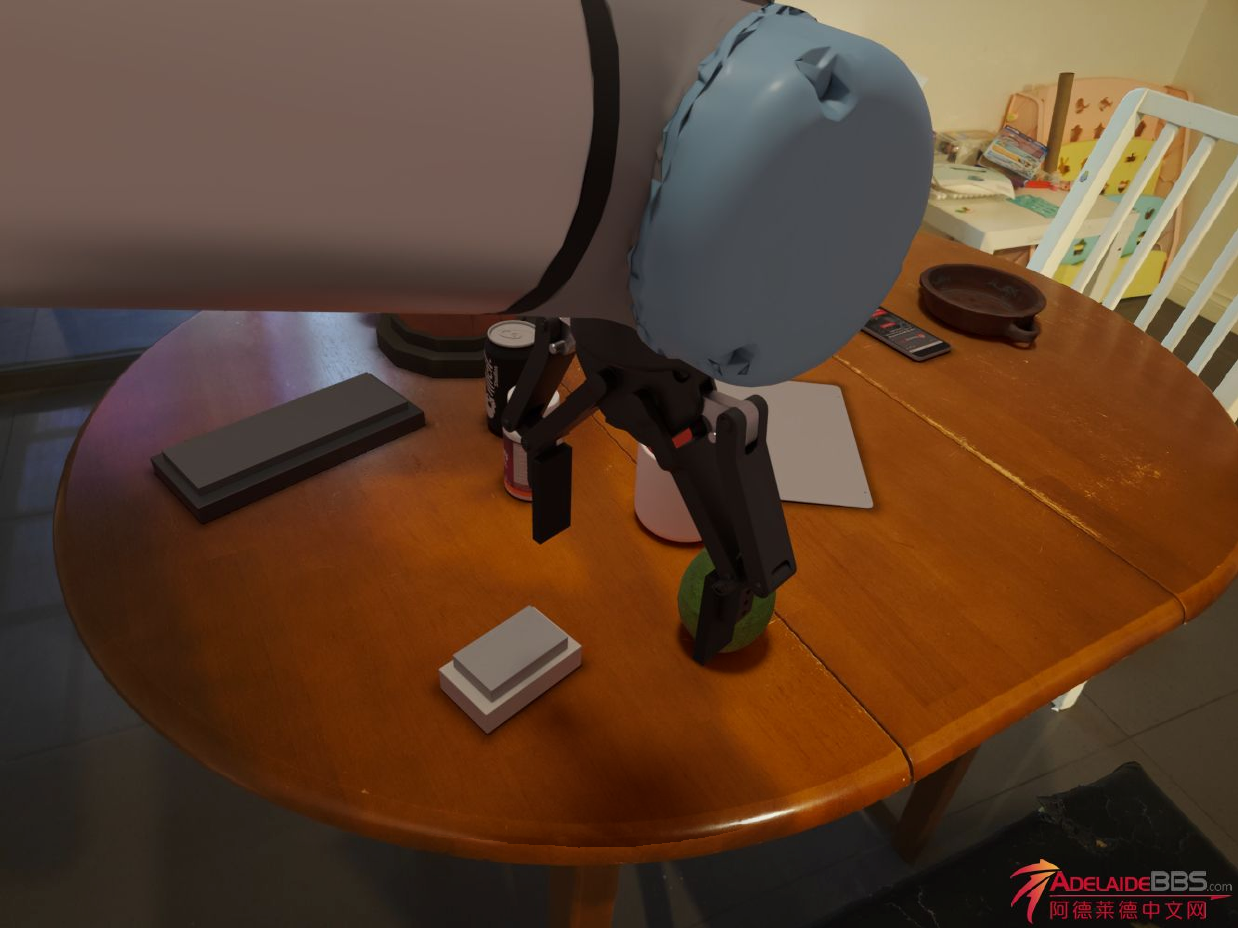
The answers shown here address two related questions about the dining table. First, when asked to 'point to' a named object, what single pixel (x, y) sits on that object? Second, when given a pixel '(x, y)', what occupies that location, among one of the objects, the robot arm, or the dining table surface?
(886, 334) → the smartphone
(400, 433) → the dark grey stepped slab
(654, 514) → the cup
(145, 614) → the dining table surface
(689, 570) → the fruit
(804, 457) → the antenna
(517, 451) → the pill bottle
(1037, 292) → the dish
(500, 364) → the beverage can
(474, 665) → the stepped grey block
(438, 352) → the tankard
